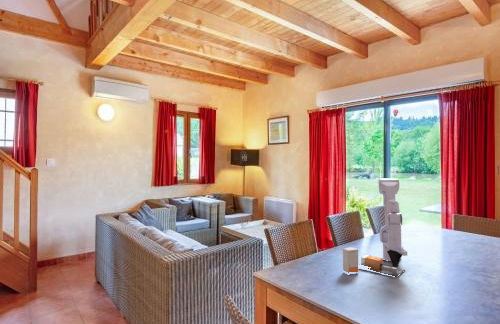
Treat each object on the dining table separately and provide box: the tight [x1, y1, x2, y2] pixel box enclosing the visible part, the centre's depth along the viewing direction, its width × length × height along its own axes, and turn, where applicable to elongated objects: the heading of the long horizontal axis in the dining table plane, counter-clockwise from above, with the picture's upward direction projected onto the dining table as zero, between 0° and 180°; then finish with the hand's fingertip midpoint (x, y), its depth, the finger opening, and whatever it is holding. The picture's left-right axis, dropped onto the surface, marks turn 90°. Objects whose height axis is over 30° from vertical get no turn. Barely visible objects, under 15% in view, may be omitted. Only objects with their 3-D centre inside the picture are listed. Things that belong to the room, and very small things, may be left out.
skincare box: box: [342, 246, 359, 273], centre depth 144 cm, size 6×4×12 cm
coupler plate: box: [360, 254, 406, 278], centre depth 148 cm, size 12×19×5 cm, turn 45°
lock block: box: [365, 255, 384, 269], centre depth 150 cm, size 7×5×4 cm, turn 44°
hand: (395, 266), depth 143 cm, fingers closed
